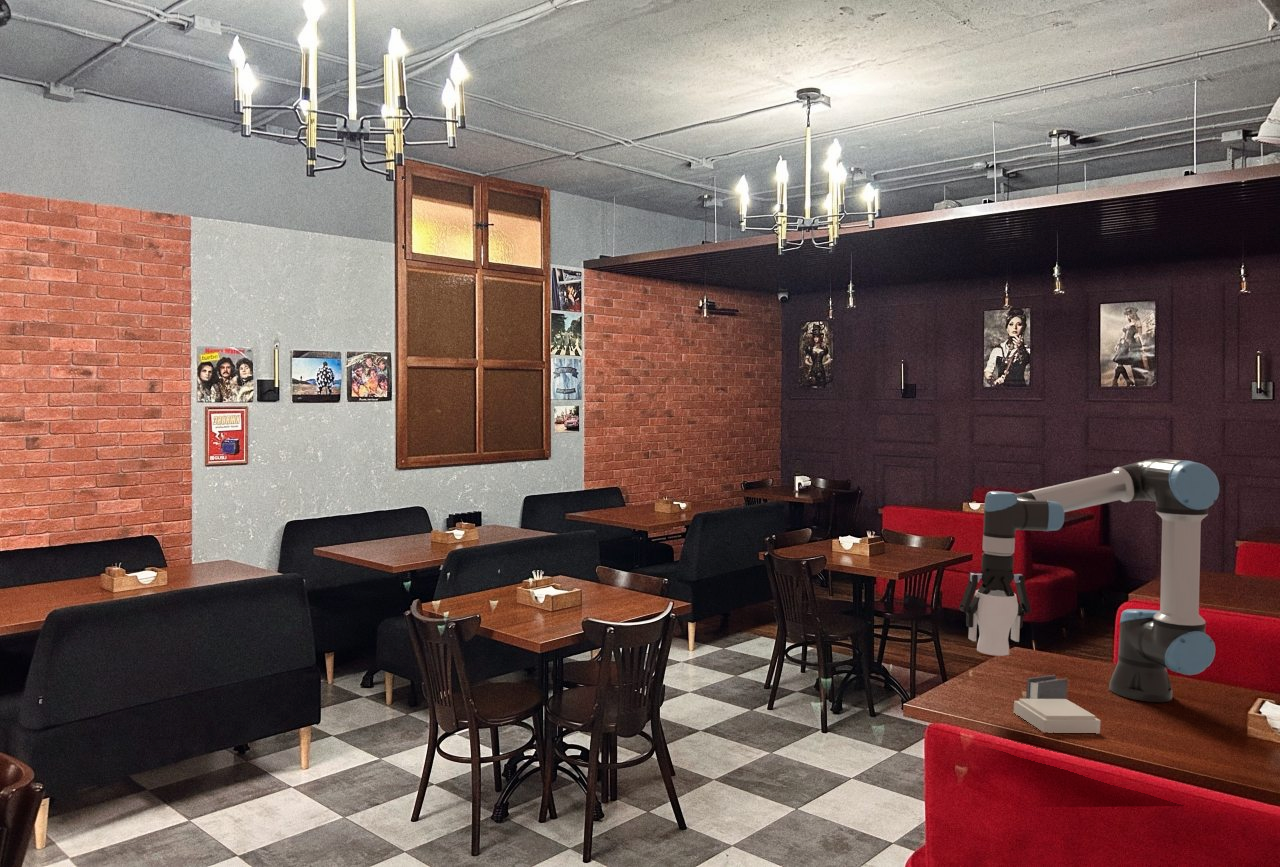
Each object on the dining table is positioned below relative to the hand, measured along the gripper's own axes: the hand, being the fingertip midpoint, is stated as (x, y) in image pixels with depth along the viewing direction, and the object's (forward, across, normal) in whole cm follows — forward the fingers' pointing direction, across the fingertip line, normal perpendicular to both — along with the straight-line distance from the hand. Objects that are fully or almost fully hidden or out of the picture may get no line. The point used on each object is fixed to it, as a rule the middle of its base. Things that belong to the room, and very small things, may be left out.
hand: (993, 640), depth 233 cm
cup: (+3, 0, 0) cm, 3 cm away
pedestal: (+18, -12, +10) cm, 23 cm away
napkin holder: (+18, -17, -3) cm, 25 cm away
